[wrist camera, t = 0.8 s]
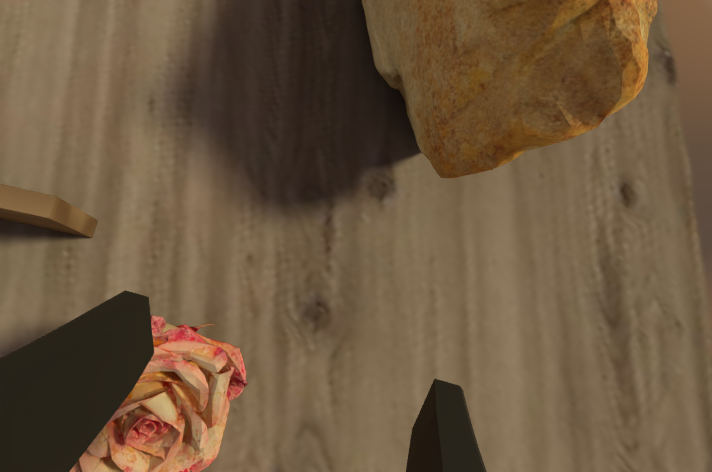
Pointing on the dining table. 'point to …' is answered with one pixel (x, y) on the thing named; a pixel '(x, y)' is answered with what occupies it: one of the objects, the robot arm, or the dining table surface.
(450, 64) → the rough brown rock
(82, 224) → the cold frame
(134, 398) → the flower
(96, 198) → the dining table surface
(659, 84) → the dining table surface
